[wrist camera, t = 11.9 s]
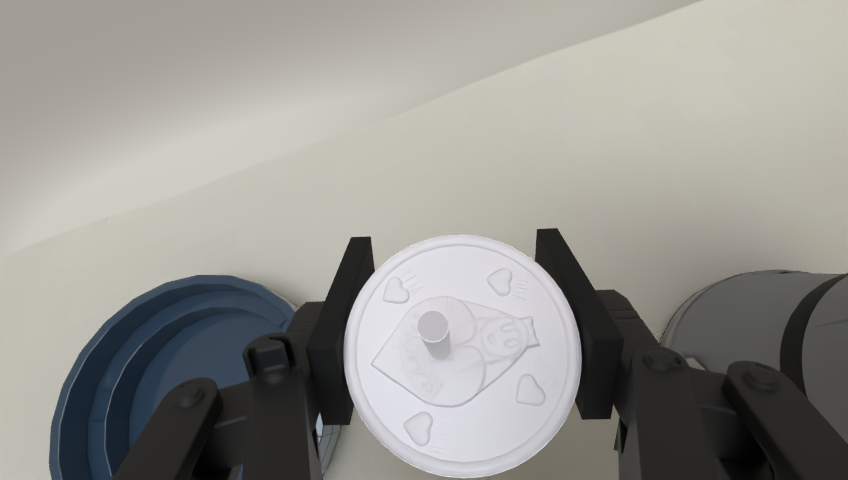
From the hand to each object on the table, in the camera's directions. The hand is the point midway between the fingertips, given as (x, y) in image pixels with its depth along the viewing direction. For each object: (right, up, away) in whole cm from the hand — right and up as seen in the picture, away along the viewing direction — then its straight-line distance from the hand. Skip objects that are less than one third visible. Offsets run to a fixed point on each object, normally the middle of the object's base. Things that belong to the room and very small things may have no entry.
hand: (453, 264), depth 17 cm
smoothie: (0, -5, +4) cm, 6 cm away
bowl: (-15, -10, +12) cm, 22 cm away
